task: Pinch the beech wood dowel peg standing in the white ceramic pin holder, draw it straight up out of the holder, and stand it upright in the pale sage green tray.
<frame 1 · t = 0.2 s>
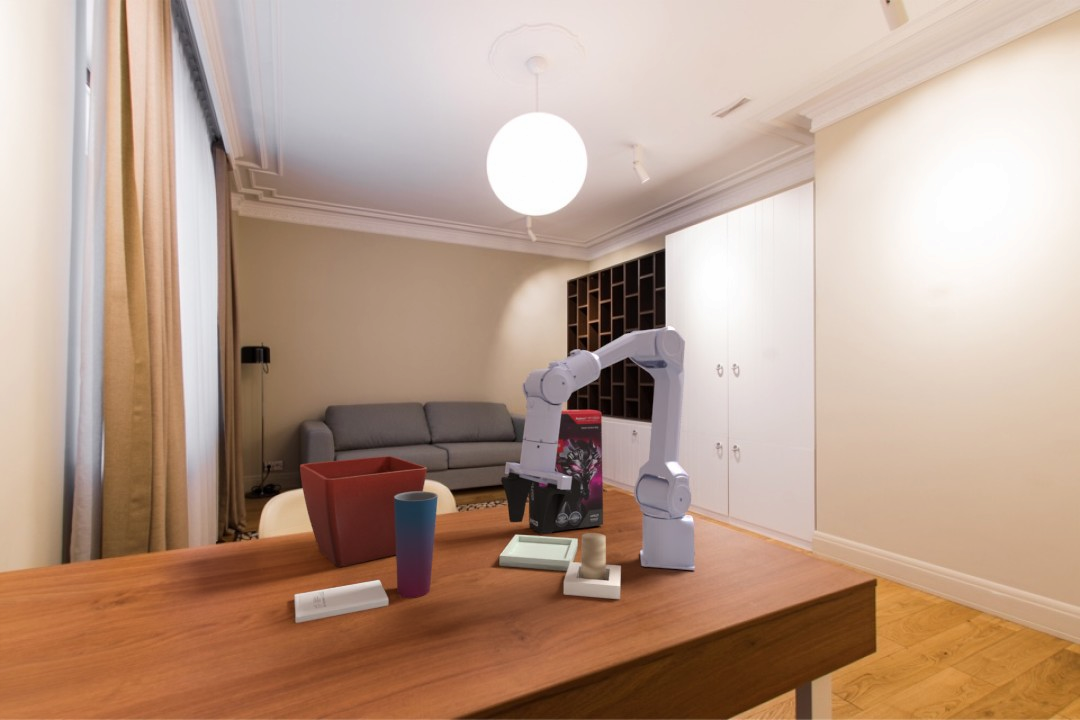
hand: (529, 527, 78), 10 cm above the table, tool pointing down, fingers open, 7 cm apart
graphics card box: (565, 528, 115), on the table
cup: (413, 592, 78), on the table
plant pot: (360, 553, 96), on the table
peg: (593, 561, 81), in the pin holder
external hard drive: (340, 607, 74), on the table
tray: (540, 556, 95), on the table
pin holder: (593, 585, 81), on the table
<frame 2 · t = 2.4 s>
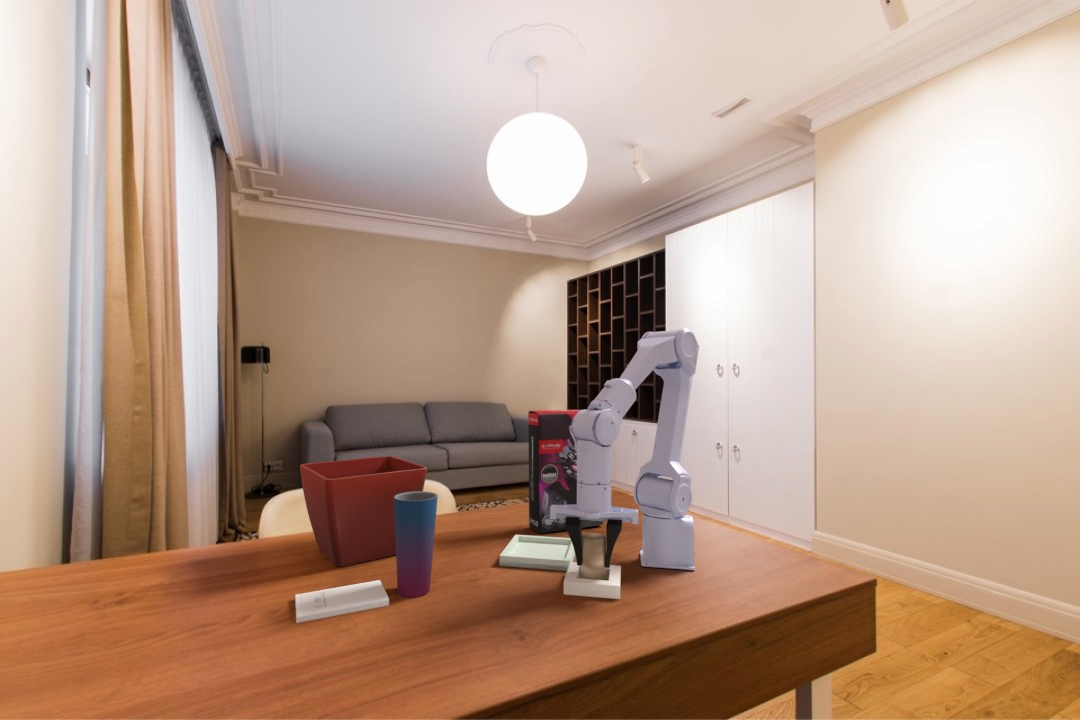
hand: (593, 564, 81), 3 cm above the table, tool pointing down, fingers closed on peg, 4 cm apart
peg: (593, 561, 81), in the pin holder, touching gripper
everything else where it was.
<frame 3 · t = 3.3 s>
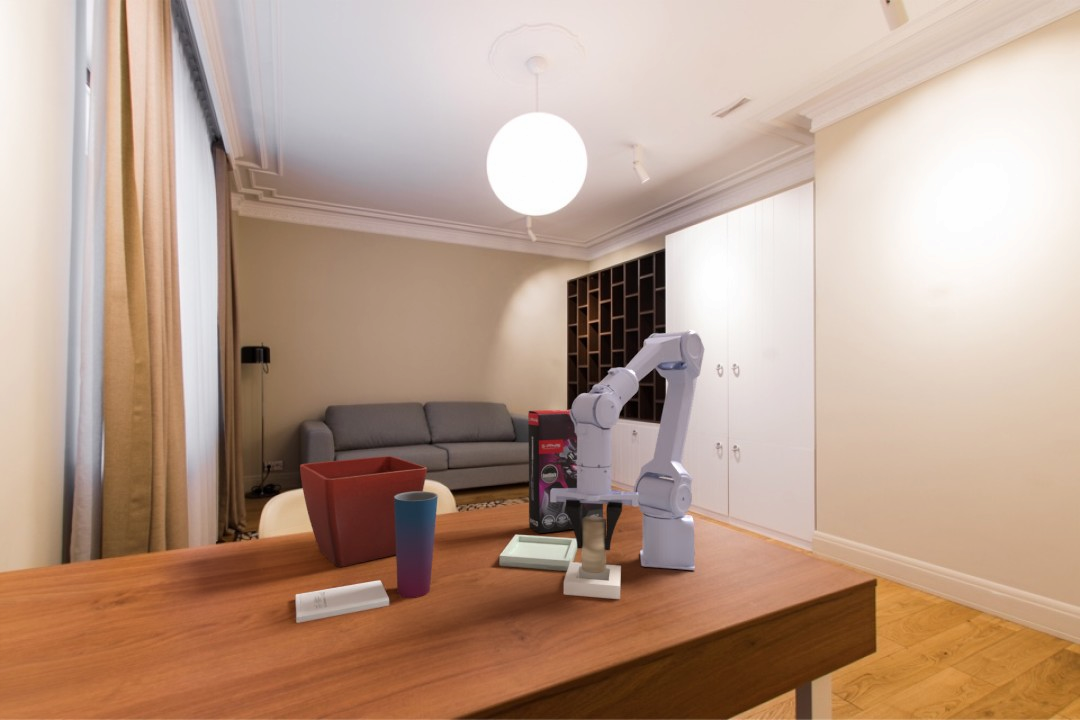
hand: (593, 547, 82), 6 cm above the table, tool pointing down, fingers closed on peg, 4 cm apart
peg: (593, 544, 82), point 7 cm above the table, touching gripper
everything else where it was.
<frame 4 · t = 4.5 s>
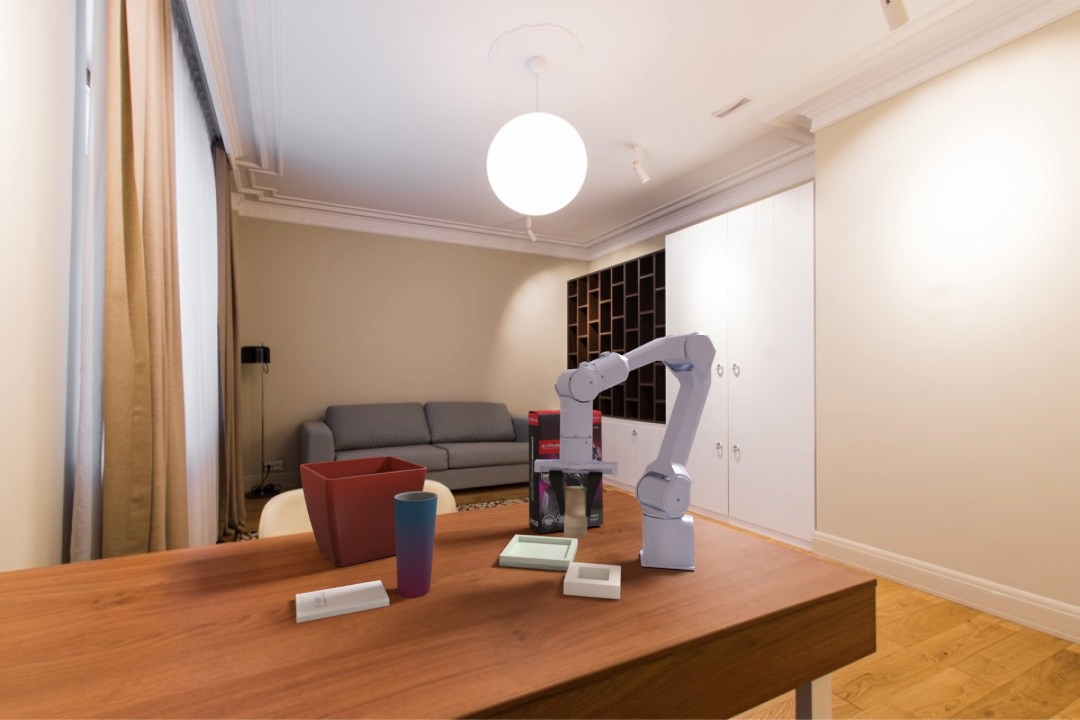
hand: (575, 514, 86), 10 cm above the table, tool pointing down, fingers closed on peg, 4 cm apart
peg: (575, 511, 86), point 11 cm above the table, touching gripper
everything else where it was.
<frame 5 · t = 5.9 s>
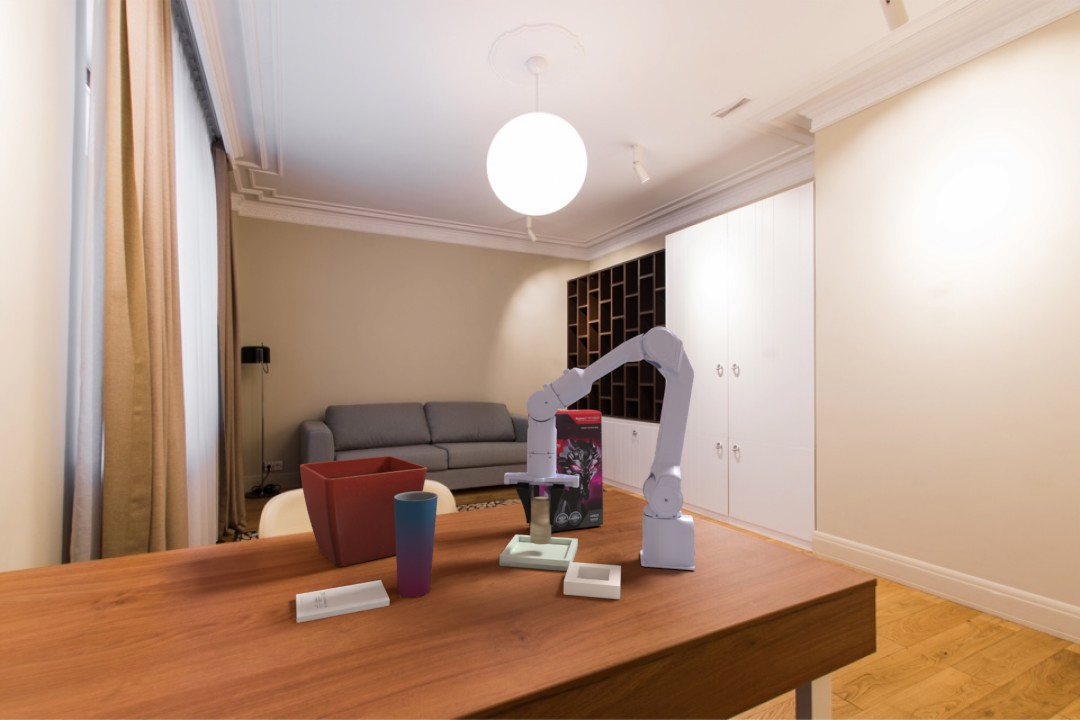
hand: (540, 522, 95), 6 cm above the table, tool pointing down, fingers closed on peg, 4 cm apart
peg: (540, 520, 95), point 7 cm above the table, touching gripper
everything else where it was.
when the fingers open (6 cm above the table, at t = 6.8 s): peg drops 2 cm, resting on tray.
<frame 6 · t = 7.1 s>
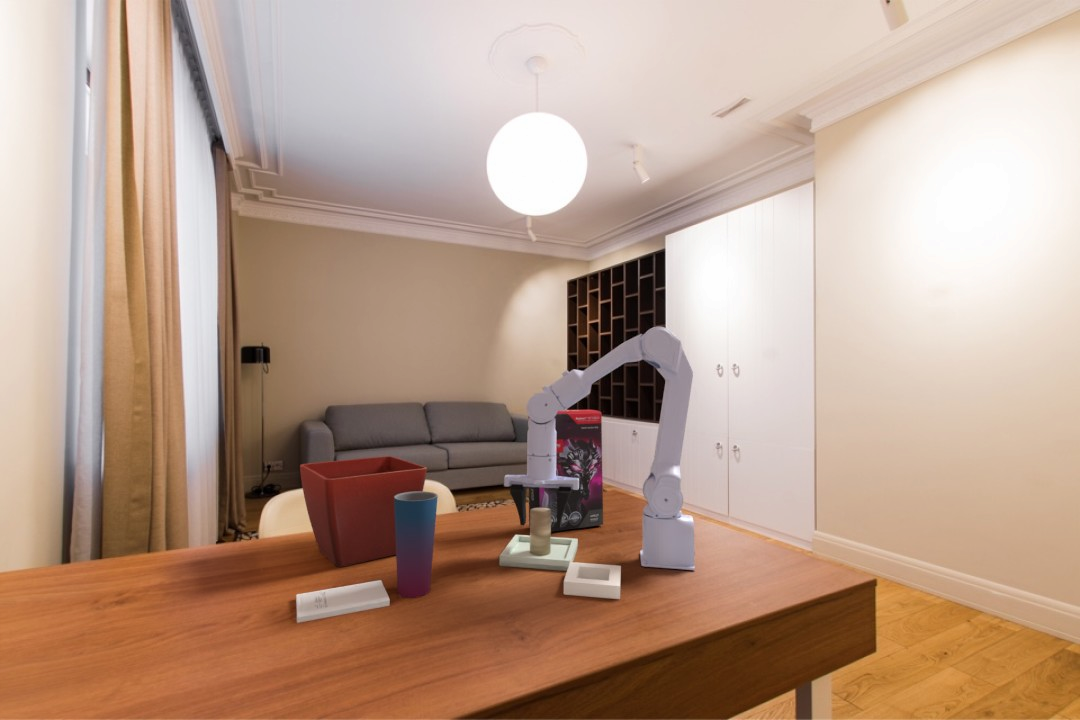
hand: (540, 525, 95), 6 cm above the table, tool pointing down, fingers open, 6 cm apart
peg: (540, 531, 95), in the tray, point 5 cm above the table
everything else where it was.
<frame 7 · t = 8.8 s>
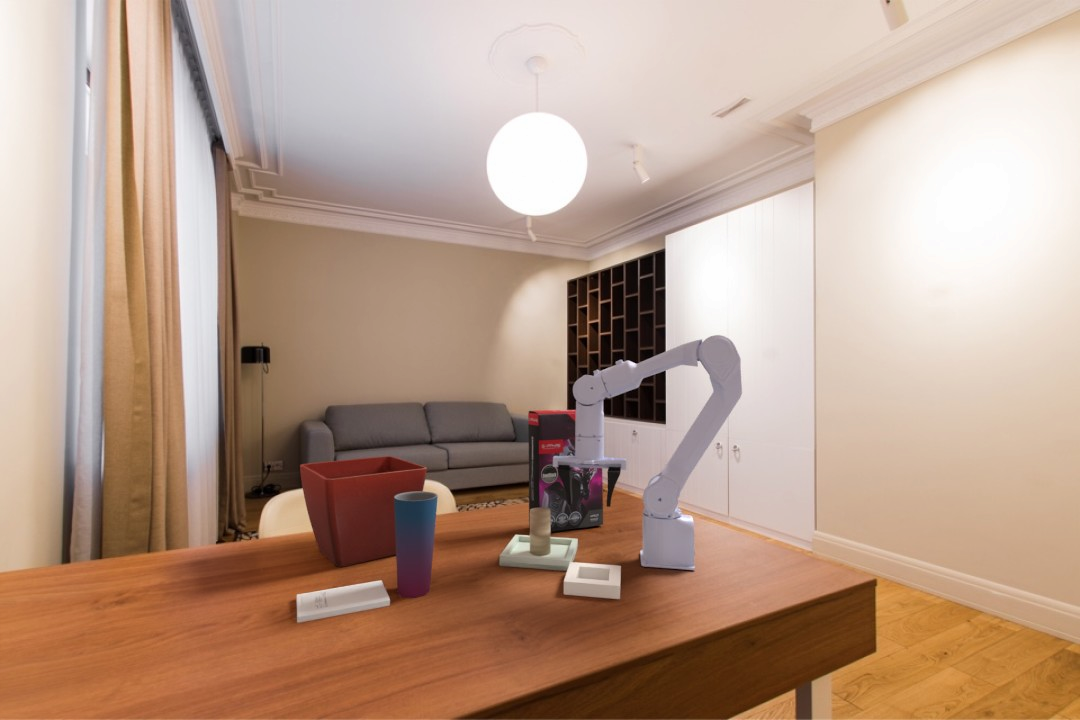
hand: (589, 504, 98), 9 cm above the table, tool pointing down, fingers open, 7 cm apart
nothing on the table moved.
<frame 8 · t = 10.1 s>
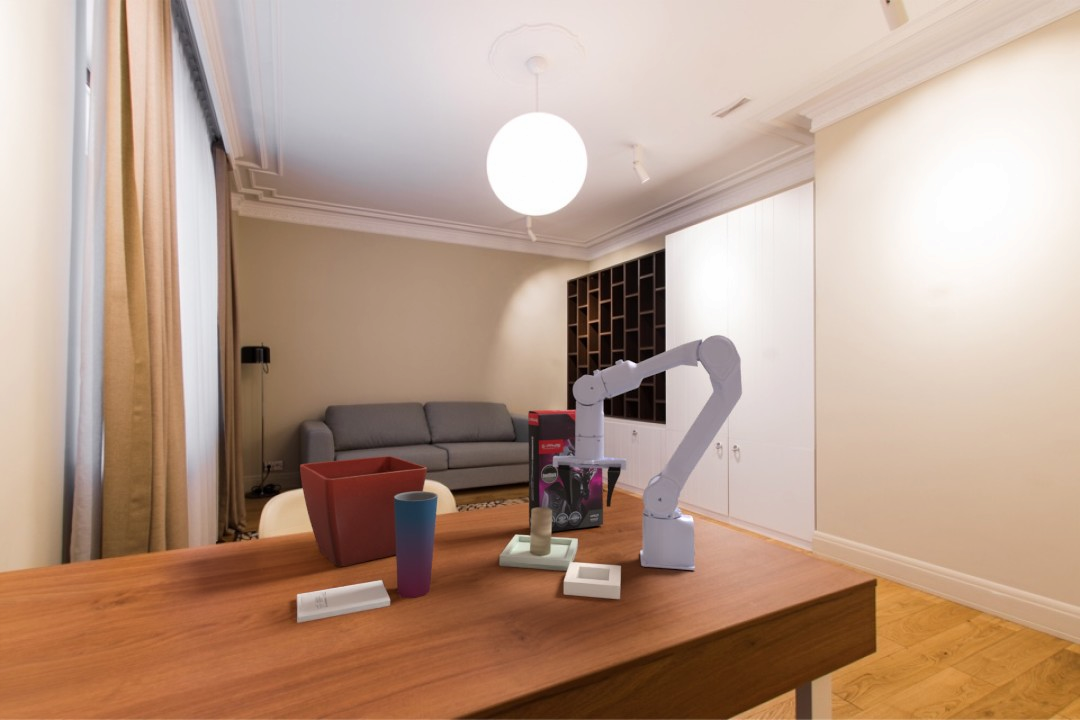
hand: (589, 504, 98), 9 cm above the table, tool pointing down, fingers open, 7 cm apart
nothing on the table moved.
at the end: peg inside the target area on the tray (0.2 cm from its centre), point 4.9 cm above the tray's base; peg tilted 2°; the gripper is holding nothing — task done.
